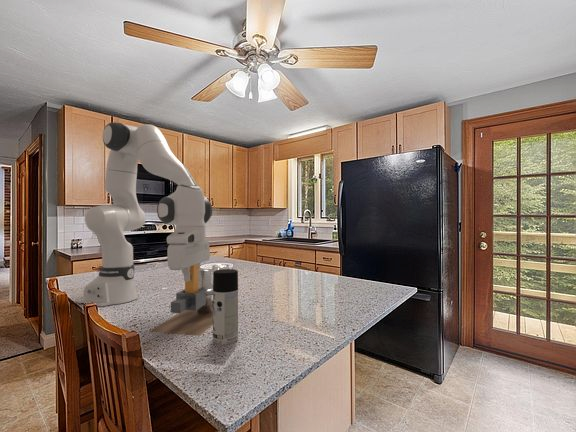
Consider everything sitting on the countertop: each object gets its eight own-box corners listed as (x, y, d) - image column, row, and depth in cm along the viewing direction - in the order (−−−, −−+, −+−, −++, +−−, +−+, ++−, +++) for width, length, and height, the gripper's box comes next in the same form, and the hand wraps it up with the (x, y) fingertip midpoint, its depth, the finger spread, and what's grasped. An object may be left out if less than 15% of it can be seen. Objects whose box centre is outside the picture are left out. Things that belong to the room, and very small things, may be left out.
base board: (148, 336, 86) (148, 331, 86) (193, 308, 111) (193, 304, 111) (200, 340, 83) (200, 335, 83) (233, 310, 108) (233, 306, 108)
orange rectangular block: (185, 293, 93) (184, 258, 93) (189, 290, 96) (189, 256, 96) (193, 293, 92) (193, 258, 92) (198, 291, 95) (198, 256, 95)
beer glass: (225, 307, 113) (225, 267, 112) (208, 305, 114) (208, 266, 114) (232, 301, 119) (232, 264, 119) (216, 300, 121) (216, 263, 121)
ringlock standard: (158, 330, 86) (158, 281, 86) (197, 305, 109) (197, 266, 109) (193, 333, 84) (193, 282, 84) (225, 307, 107) (225, 267, 107)
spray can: (215, 339, 83) (214, 268, 83) (239, 338, 84) (239, 268, 84) (211, 350, 77) (210, 273, 77) (237, 349, 77) (236, 273, 77)
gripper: (197, 233, 105) (197, 272, 105) (162, 238, 84) (163, 286, 85) (214, 233, 103) (214, 273, 104) (183, 238, 83) (184, 287, 83)
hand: (191, 279), depth 94 cm, fingers closed on orange rectangular block, 3 cm apart
